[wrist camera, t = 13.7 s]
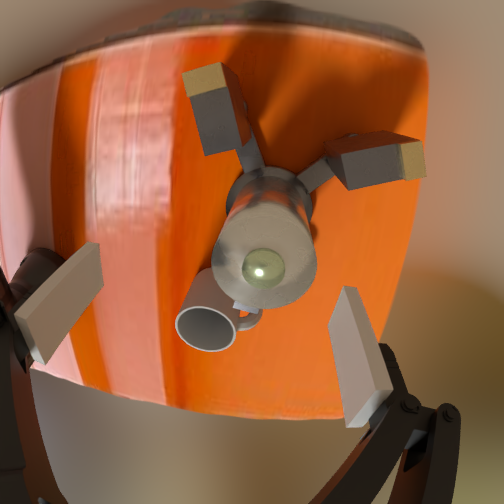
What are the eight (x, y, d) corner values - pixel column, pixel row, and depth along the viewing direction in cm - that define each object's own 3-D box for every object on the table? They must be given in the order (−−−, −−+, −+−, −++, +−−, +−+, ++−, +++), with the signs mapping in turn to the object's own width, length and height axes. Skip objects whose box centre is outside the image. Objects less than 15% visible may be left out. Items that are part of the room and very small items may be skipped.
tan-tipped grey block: (326, 166, 32) (350, 193, 22) (320, 139, 30) (342, 154, 20) (382, 154, 30) (427, 177, 20) (377, 128, 29) (422, 139, 19)
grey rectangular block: (254, 135, 31) (242, 148, 21) (226, 141, 31) (201, 157, 21) (240, 77, 28) (221, 60, 18) (212, 84, 28) (180, 72, 18)
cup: (191, 263, 39) (171, 303, 31) (265, 268, 39) (261, 310, 31) (195, 305, 43) (179, 348, 35) (263, 311, 42) (259, 356, 34)
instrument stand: (203, 239, 37) (166, 311, 24) (233, 119, 30) (199, 126, 17) (303, 267, 38) (313, 350, 25) (347, 154, 31) (394, 188, 18)
